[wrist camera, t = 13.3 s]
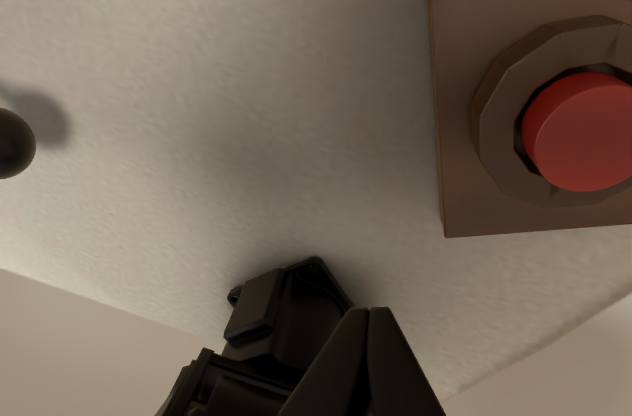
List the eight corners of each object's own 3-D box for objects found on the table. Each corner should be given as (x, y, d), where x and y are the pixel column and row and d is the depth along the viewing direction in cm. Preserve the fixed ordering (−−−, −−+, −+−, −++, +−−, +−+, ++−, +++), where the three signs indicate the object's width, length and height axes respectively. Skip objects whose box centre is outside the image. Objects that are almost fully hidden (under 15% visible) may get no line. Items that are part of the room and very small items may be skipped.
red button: (625, 163, 15) (650, 186, 14) (518, 174, 16) (531, 197, 15) (642, 62, 14) (673, 76, 12) (522, 80, 14) (538, 95, 13)
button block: (646, 201, 19) (694, 247, 16) (440, 219, 21) (449, 263, 18) (708, -88, 14) (794, -98, 11) (426, -29, 16) (434, -24, 13)
